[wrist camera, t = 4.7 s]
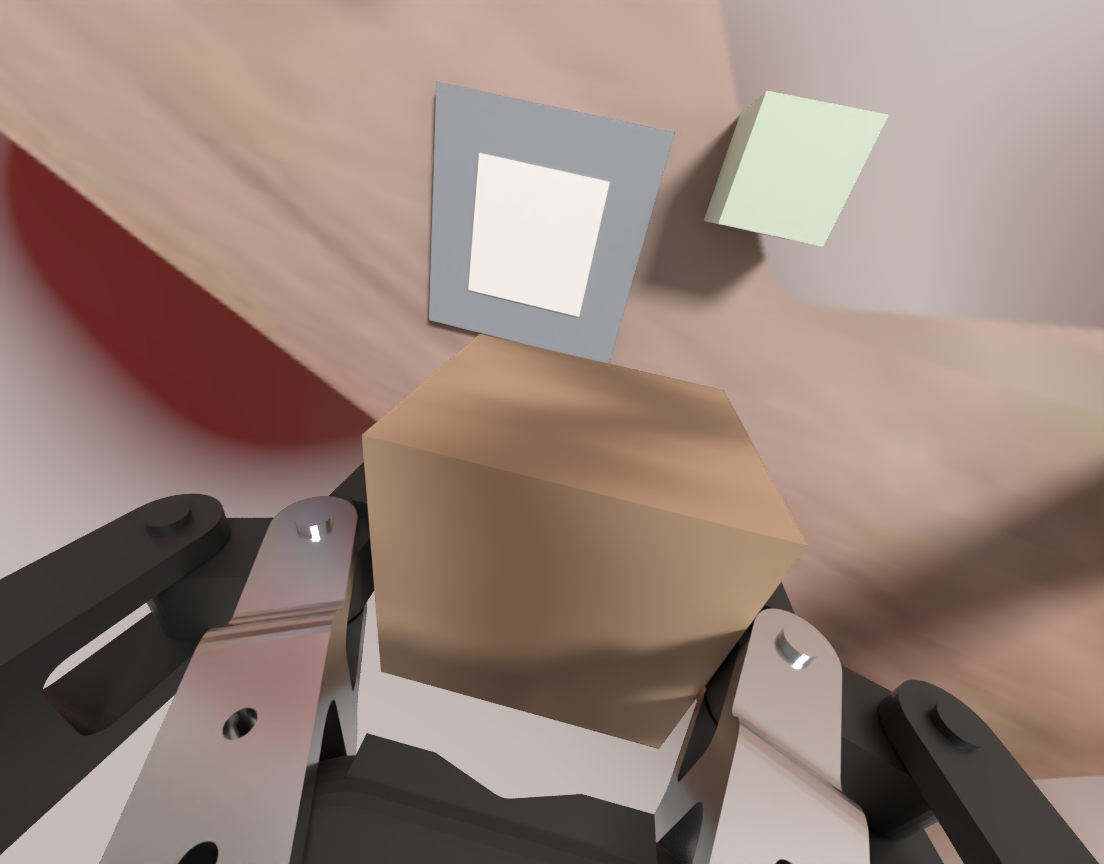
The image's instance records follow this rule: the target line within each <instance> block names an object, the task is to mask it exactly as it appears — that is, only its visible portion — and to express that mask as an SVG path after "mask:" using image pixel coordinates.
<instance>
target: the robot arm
mask: <svg viewBox="0 0 1104 864" xmlns="http://www.w3.org/2000/svg"><path fill="white" fill-rule="evenodd" d="M373 592H374V578H373V565H372V553H371V541H370V529H369V516H368V504H367V492H366V479H365V467H364V462H363V463H362V464H361V465H360V466H359V467H358V468H357V469H356V470H355V471H354V472H353V473H352V474H351V475H350V476H349V477H348V478H347V479H346V480H345V481H344V482H343V483H341V484H340V485H339V487H337V488H336V489H335V490H334V491H333V492H332V493H331V494H330V495H329V496H320V497H312V498H308V499H304V500H301V501H298V502H295V503H293V504H291V505H289V506H287V507H286V508H284V509H283V510H281V511H280V512H279V513H278V514H277V515H276V516H275V517H274V518H226V516H225V513H224V510H223V507H222V505H221V503H220V502H219V501H218V500H217V499H215V498H213V497H211V496H207V495H202V494H181V495H174V496H170V497H165V498H162V499H159V500H156V501H153V502H150V503H147V504H145V505H143V506H141V507H139V508H137V509H135V510H133V511H131V512H129V513H127V514H125V515H123V516H121V517H120V518H118V519H116V520H114V521H112V522H110V523H108V524H106V525H104V526H102V527H101V528H98V529H96V530H95V531H93V532H91V533H89V534H87V535H85V536H83V537H81V538H79V539H77V540H75V541H73V542H71V543H70V544H68V545H66V546H64V547H62V548H60V549H58V550H56V551H55V552H52V553H50V554H48V555H47V556H44V557H43V558H41V559H39V560H37V561H35V562H33V563H31V564H29V565H27V566H26V567H23V568H21V569H19V570H18V571H16V572H14V573H12V574H10V575H8V576H6V577H4V578H2V579H0V855H1V854H2V853H3V852H4V851H5V850H6V849H7V848H8V847H9V846H10V845H12V844H13V843H14V842H15V841H16V840H17V839H18V838H19V837H20V836H21V835H22V834H24V833H25V832H26V831H27V830H28V829H29V828H30V827H31V826H32V825H33V824H35V823H36V822H37V821H38V820H39V819H40V818H41V817H42V816H43V815H44V814H45V813H46V812H47V811H49V810H50V809H51V808H52V807H53V806H54V805H55V804H56V803H57V802H58V801H60V800H61V799H62V798H63V797H64V796H65V795H66V794H67V793H68V792H69V791H70V790H72V789H73V788H74V787H75V786H76V785H77V784H78V783H79V782H80V781H81V780H82V779H83V778H85V777H86V776H87V775H88V774H89V773H90V772H91V771H92V770H93V769H94V768H95V767H97V765H99V764H100V763H101V762H102V761H103V760H104V759H105V758H106V757H107V756H108V755H110V754H111V753H112V752H113V751H114V750H115V749H116V748H117V747H118V746H119V745H120V744H121V743H123V742H124V741H125V740H126V739H127V738H128V737H129V736H130V735H131V734H132V733H134V731H136V730H137V729H138V728H139V727H140V726H141V725H142V724H143V723H144V722H145V721H147V720H148V719H149V718H150V717H151V716H152V715H153V714H154V713H155V712H156V711H157V710H159V709H160V708H161V707H162V706H163V705H164V704H165V703H166V702H167V701H168V700H169V699H170V698H172V697H173V696H174V695H175V696H174V699H173V701H172V703H171V705H170V708H169V710H168V712H167V714H166V716H165V719H164V721H163V723H162V725H161V727H160V730H159V732H158V734H157V737H156V739H155V741H154V743H153V745H152V748H151V750H150V752H149V754H148V757H147V759H146V761H145V763H144V765H143V767H142V770H141V772H140V774H139V776H138V779H137V781H136V783H135V785H134V788H133V790H132V792H131V794H130V796H129V799H128V801H127V803H126V805H125V807H124V810H123V812H122V814H121V816H120V819H119V821H118V823H117V825H116V827H115V830H114V832H113V834H112V836H111V839H110V841H109V843H108V845H107V847H106V850H105V852H104V854H103V856H102V859H101V861H100V863H99V864H944V863H943V862H942V860H941V858H940V856H939V855H938V853H937V851H936V849H935V848H934V846H933V844H932V842H931V841H930V839H929V837H928V835H927V834H926V832H925V830H924V828H926V827H928V826H930V825H932V824H934V823H936V822H938V821H939V823H940V824H941V826H942V828H943V829H944V831H945V832H946V834H947V836H948V838H949V839H950V841H951V842H952V844H953V846H954V847H955V849H956V851H957V853H958V854H959V856H960V858H961V859H962V861H963V863H964V864H1099V863H1098V862H1097V861H1096V859H1095V858H1094V857H1093V856H1092V854H1091V853H1090V852H1089V851H1088V850H1087V848H1086V847H1085V846H1084V844H1083V843H1082V842H1081V841H1080V839H1079V838H1078V837H1077V836H1076V834H1075V833H1074V832H1073V831H1072V829H1071V828H1070V827H1069V826H1068V825H1067V823H1066V822H1065V821H1064V819H1063V818H1062V817H1061V816H1060V815H1059V813H1058V812H1057V811H1056V810H1055V808H1054V807H1053V806H1052V804H1051V803H1050V802H1049V801H1048V799H1047V798H1046V797H1045V796H1044V795H1043V793H1042V792H1041V791H1040V790H1039V788H1038V787H1037V786H1036V785H1035V783H1034V782H1033V781H1032V780H1031V778H1030V777H1029V776H1028V775H1027V773H1026V772H1025V771H1024V770H1023V768H1022V767H1021V766H1020V765H1019V763H1018V762H1017V761H1016V760H1015V758H1014V757H1013V756H1012V755H1011V753H1010V752H1009V751H1008V750H1007V748H1006V747H1005V746H1004V745H1003V743H1002V742H1001V741H1000V740H999V738H998V737H997V736H996V735H995V733H994V732H993V731H992V730H991V729H990V728H989V727H988V725H987V724H986V723H985V722H984V721H983V720H982V719H981V718H980V717H979V716H978V715H977V714H976V713H975V712H973V711H972V710H971V709H970V708H969V707H968V706H966V705H965V704H964V703H963V702H961V701H960V700H959V699H957V698H956V697H954V696H953V695H951V694H950V693H948V692H946V691H945V690H943V689H941V688H939V687H937V686H935V685H933V684H930V683H927V682H924V681H919V680H908V681H905V682H904V683H902V684H901V685H900V686H899V687H897V688H896V689H895V690H894V691H892V692H891V691H889V690H887V689H886V688H884V687H882V686H880V685H878V684H876V683H874V682H872V681H870V680H869V679H867V678H865V677H863V676H861V675H859V674H857V673H855V672H853V671H851V670H850V669H848V668H846V667H844V666H843V665H841V664H840V660H839V658H838V656H837V654H836V652H835V650H834V649H833V647H832V646H831V644H830V643H829V642H828V640H827V639H826V638H825V637H824V636H823V635H822V634H821V633H820V632H819V631H818V630H817V629H816V628H815V627H813V626H812V625H811V624H810V623H808V622H807V621H805V620H804V619H802V618H801V617H799V616H797V615H795V613H794V611H793V608H792V606H791V604H790V601H789V599H788V596H787V594H786V592H785V589H784V587H783V584H782V582H781V583H780V584H779V586H778V587H777V588H776V590H775V591H774V592H773V594H772V595H771V596H770V598H769V599H768V601H767V602H766V603H765V605H764V606H763V607H762V609H761V610H760V612H759V613H758V614H757V616H756V617H755V618H754V620H753V621H752V622H751V624H750V625H749V627H748V628H747V629H746V631H745V632H744V633H743V635H742V636H741V638H740V639H739V640H738V642H737V643H736V644H735V646H734V647H733V648H732V650H731V651H730V653H729V654H728V655H727V657H726V658H725V659H724V661H723V662H722V664H721V665H720V666H719V668H718V669H717V670H716V672H715V673H714V674H713V676H712V677H711V679H710V680H709V681H708V683H707V684H706V685H705V688H704V689H703V691H702V692H701V694H700V695H699V697H698V700H697V703H696V706H695V709H694V712H693V715H692V718H691V721H690V724H689V726H688V730H687V732H686V735H685V738H684V741H683V744H682V747H681V750H680V753H679V756H678V759H677V762H676V765H675V768H674V771H673V774H672V777H671V780H670V782H669V785H668V787H667V790H666V792H665V794H664V796H663V798H662V800H661V802H660V804H659V806H658V808H657V810H656V812H655V814H650V813H647V812H643V811H640V810H636V809H633V808H629V807H626V806H622V805H619V804H615V803H611V802H608V801H604V800H600V799H597V798H594V797H590V796H587V795H583V794H576V795H561V796H545V797H530V798H515V799H507V798H502V797H499V796H498V795H496V794H494V793H493V792H491V791H490V790H488V789H487V788H486V787H484V786H482V785H481V784H480V783H478V782H477V781H475V780H474V779H472V778H471V777H470V776H468V775H467V774H465V773H464V772H463V771H461V770H460V769H458V768H457V767H455V766H454V765H453V764H451V763H450V762H448V761H447V760H445V759H444V758H442V757H441V756H440V755H438V754H437V753H435V752H431V751H428V750H424V749H421V748H417V747H413V746H410V745H407V744H403V743H399V742H396V741H392V740H389V739H385V738H382V737H378V736H375V735H371V734H368V733H367V734H366V736H365V738H364V740H363V742H362V744H361V746H360V748H359V750H358V752H357V754H356V746H357V703H358V691H359V681H360V671H361V662H362V653H363V643H364V634H365V624H366V614H367V600H368V599H369V598H370V596H371V595H372V593H373ZM145 603H147V604H148V606H149V608H150V610H151V611H152V612H151V613H149V614H148V615H146V616H145V617H144V618H142V619H141V620H140V621H138V622H137V623H135V624H134V625H133V626H131V627H130V628H129V629H127V630H126V631H124V632H123V633H122V634H120V635H119V636H118V637H116V638H115V639H113V640H112V641H111V642H109V643H108V644H107V645H105V646H104V647H103V648H101V649H100V650H98V651H97V652H95V653H94V654H93V655H91V656H90V657H89V658H87V659H86V660H85V661H83V662H82V663H80V664H79V665H78V666H76V667H75V668H74V669H72V670H71V671H69V672H68V673H67V674H65V675H64V676H62V677H61V678H60V679H58V680H57V681H56V682H54V683H53V684H51V685H50V686H48V687H46V688H44V689H43V687H44V684H45V682H46V680H47V678H48V677H49V675H50V674H51V673H52V672H53V671H54V669H55V668H56V667H57V666H58V665H59V664H61V663H62V662H63V661H64V660H65V659H67V658H68V657H69V656H70V655H72V654H74V653H75V652H76V651H78V650H79V649H80V648H82V647H83V646H85V645H86V644H88V643H89V642H90V641H92V640H93V639H95V638H96V637H98V636H99V635H100V634H102V633H103V632H105V631H106V630H108V629H109V628H111V627H112V626H113V625H115V624H116V623H117V622H119V621H121V620H122V619H123V618H125V617H126V616H128V615H129V614H131V613H132V612H133V611H135V610H136V609H138V608H139V607H140V606H142V605H143V604H145Z"/></svg>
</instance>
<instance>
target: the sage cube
mask: <svg viewBox="0 0 1104 864" xmlns="http://www.w3.org/2000/svg"><path fill="white" fill-rule="evenodd" d="M887 117H888V115H887V114H882V113H877V112H872V111H866V110H862V109H857V108H852V107H846V106H841V105H837V104H831V103H826V102H821V101H816V100H811V99H806V98H801V97H796V96H791V95H786V94H781V93H775V92H770V91H766V92H764V93H763V94H762V95H761V96H760V97H759V98H758V99H757V100H756V101H755V102H754V103H752V104H751V105H750V106H749V107H748V108H747V109H746V110H745V111H743V112H742V113H741V114H740V116H739V119H738V122H737V125H736V128H735V131H734V134H733V137H732V140H731V142H730V145H729V148H728V151H727V154H726V157H725V160H724V163H723V166H722V169H721V171H720V174H719V177H718V180H717V183H716V186H715V189H714V192H713V195H712V198H711V201H710V203H709V206H708V209H707V212H706V215H705V218H704V221H706V222H711V223H715V224H720V225H724V226H729V227H733V228H738V229H742V230H747V231H752V232H756V233H761V234H765V235H770V236H774V237H779V238H784V239H788V240H792V241H798V242H802V243H807V244H812V245H817V246H824V244H825V242H826V240H827V237H828V236H829V234H830V232H831V230H832V227H833V226H834V224H835V221H836V220H837V218H838V216H839V214H840V211H841V210H842V208H843V206H844V203H845V202H846V199H847V198H848V196H849V193H850V192H851V190H852V188H853V186H854V183H855V182H856V180H857V177H858V175H859V174H860V172H861V170H862V168H863V166H864V163H865V161H866V160H867V158H868V156H869V154H870V152H871V150H872V148H873V145H874V143H875V142H876V140H877V138H878V135H879V134H880V132H881V129H882V127H883V125H884V124H885V122H886V120H887Z"/></svg>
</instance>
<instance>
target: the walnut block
mask: <svg viewBox="0 0 1104 864" xmlns="http://www.w3.org/2000/svg"><path fill="white" fill-rule="evenodd" d="M362 441H363V455H364V467H365V479H366V492H367V504H368V516H369V529H370V541H371V553H372V565H373V578H374V590H375V602H376V614H377V627H378V639H379V652H380V662H381V663H380V664H381V671H382V672H385V673H388V674H392V675H395V676H399V677H403V678H406V679H410V680H414V681H417V682H421V683H424V684H428V685H431V686H435V687H438V688H442V689H445V690H449V691H453V692H456V693H460V694H463V695H467V696H471V697H474V698H478V699H481V700H485V701H489V702H493V703H496V704H499V705H503V706H507V707H510V708H514V709H518V710H521V711H525V712H528V713H532V714H535V715H539V716H543V717H546V718H550V719H553V720H557V721H560V722H564V723H568V724H572V725H575V726H578V727H582V728H586V729H589V730H593V731H597V732H600V733H604V734H607V735H611V736H614V737H618V738H622V739H625V740H629V741H633V742H636V743H640V744H643V745H647V746H650V747H654V748H657V749H659V748H660V747H661V745H662V744H663V743H664V742H665V740H666V739H667V737H668V736H669V735H670V733H671V732H672V731H673V729H674V728H675V726H676V725H677V724H678V722H679V721H680V720H681V718H682V717H683V716H684V714H685V713H686V711H687V710H688V709H689V707H690V706H691V705H692V703H693V702H694V700H695V699H696V698H697V696H698V695H699V694H700V692H701V691H702V690H703V688H704V687H705V685H706V684H707V683H708V681H709V680H710V679H711V677H712V676H713V674H714V673H715V672H716V670H717V669H718V668H719V666H720V665H721V664H722V662H723V661H724V659H725V658H726V657H727V655H728V654H729V653H730V651H731V650H732V648H733V647H734V646H735V644H736V643H737V642H738V640H739V639H740V638H741V636H742V635H743V633H744V632H745V631H746V629H747V628H748V627H749V625H750V624H751V622H752V621H753V620H754V618H755V617H756V616H757V614H758V613H759V612H760V610H761V609H762V607H763V606H764V605H765V603H766V602H767V601H768V599H769V598H770V596H771V595H772V594H773V592H774V591H775V590H776V588H777V587H778V586H779V584H780V583H781V581H782V580H783V579H784V577H785V576H786V575H787V573H788V572H789V570H790V569H791V568H792V566H793V565H794V564H795V562H796V561H797V560H798V558H799V557H800V555H801V554H802V553H803V551H804V550H805V549H806V547H807V546H808V545H807V543H806V541H805V540H804V538H803V536H802V534H801V532H800V530H799V528H798V527H797V525H796V523H795V521H794V519H793V517H792V515H791V514H790V512H789V510H788V508H787V506H786V504H785V502H784V501H783V499H782V497H781V495H780V493H779V491H778V489H777V488H776V486H775V484H774V482H773V480H772V478H771V476H770V475H769V473H768V471H767V469H766V467H765V465H764V463H763V462H762V460H761V458H760V456H759V454H758V452H757V450H756V449H755V447H754V445H753V443H752V441H751V439H750V437H749V436H748V434H747V432H746V430H745V428H744V426H743V424H742V423H741V421H740V419H739V417H738V415H737V413H736V411H735V410H734V408H733V406H732V404H731V402H730V400H729V398H728V397H727V395H726V393H725V391H724V390H721V389H716V388H712V387H708V386H703V385H699V384H695V383H690V382H686V381H682V380H677V379H673V378H669V377H664V376H660V375H656V374H651V373H647V372H643V371H638V370H634V369H630V368H626V367H621V366H617V365H613V364H608V363H604V362H600V361H595V360H591V359H587V358H582V357H578V356H574V355H569V354H565V353H561V352H556V351H552V350H548V349H543V348H539V347H535V346H530V345H526V344H522V343H517V342H513V341H509V340H504V339H500V338H496V337H491V336H487V335H483V334H479V335H478V336H477V337H475V338H474V339H473V340H472V341H471V342H470V343H468V344H467V345H466V346H465V347H464V348H463V349H461V350H460V351H459V352H458V353H457V354H456V355H454V356H453V357H452V358H451V359H450V360H449V361H448V362H446V363H445V364H444V365H443V366H442V367H441V368H439V369H438V370H437V371H436V372H435V373H434V374H432V375H431V376H430V377H429V378H428V379H427V380H425V381H424V382H423V383H422V384H421V385H420V386H418V387H417V388H416V389H415V390H414V391H413V392H411V393H410V394H409V395H408V396H407V397H406V398H404V399H403V400H402V401H401V402H400V403H399V404H397V405H396V406H395V407H394V408H393V409H392V410H390V411H389V412H388V413H387V414H386V415H385V416H383V417H382V418H381V419H380V420H379V421H378V422H376V423H375V424H374V425H373V426H372V427H371V428H370V429H368V430H367V431H366V432H365V433H364V434H363V435H362Z"/></svg>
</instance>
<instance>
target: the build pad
mask: <svg viewBox="0 0 1104 864" xmlns="http://www.w3.org/2000/svg"><path fill="white" fill-rule="evenodd" d="M674 133H675V132H670V131H666V130H661V129H656V128H652V127H647V126H642V125H638V124H633V123H628V122H624V121H619V120H614V119H609V118H605V117H600V116H595V115H591V114H586V113H581V112H577V111H572V110H567V109H563V108H558V107H553V106H548V105H544V104H539V103H534V102H530V101H525V100H520V99H516V98H511V97H506V96H501V95H497V94H492V93H487V92H483V91H478V90H473V89H469V88H464V87H459V86H455V85H450V84H445V83H440V82H436V109H435V141H434V174H433V207H432V240H431V272H430V305H429V320H431V321H435V322H439V323H443V324H447V325H451V326H455V327H459V328H463V329H467V330H471V331H475V332H479V333H483V334H487V335H491V336H495V337H499V338H503V339H507V340H511V341H515V342H519V343H523V344H527V345H531V346H535V347H539V348H543V349H548V350H552V351H556V352H561V353H565V354H569V355H574V356H578V357H582V358H587V359H591V360H595V361H600V362H604V363H608V364H609V362H610V359H611V355H612V351H613V348H614V344H615V341H616V337H617V334H618V330H619V327H620V323H621V320H622V316H623V313H624V309H625V306H626V302H627V299H628V295H629V292H630V288H631V285H632V281H633V278H634V274H635V271H636V267H637V264H638V260H639V257H640V253H641V249H642V246H643V242H644V239H645V235H646V232H647V228H648V225H649V221H650V218H651V214H652V211H653V207H654V204H655V200H656V197H657V193H658V190H659V186H660V183H661V179H662V176H663V172H664V169H665V165H666V162H667V158H668V155H669V151H670V147H671V144H672V140H673V137H674Z"/></svg>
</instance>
